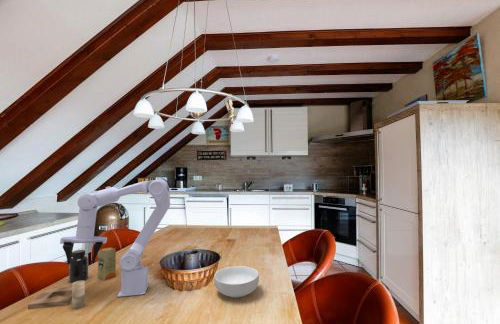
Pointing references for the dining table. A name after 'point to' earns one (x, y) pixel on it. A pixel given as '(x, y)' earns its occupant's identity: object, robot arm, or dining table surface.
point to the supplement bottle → (78, 266)
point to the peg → (78, 294)
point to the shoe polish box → (106, 263)
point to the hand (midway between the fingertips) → (81, 262)
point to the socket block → (48, 301)
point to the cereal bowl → (236, 280)
